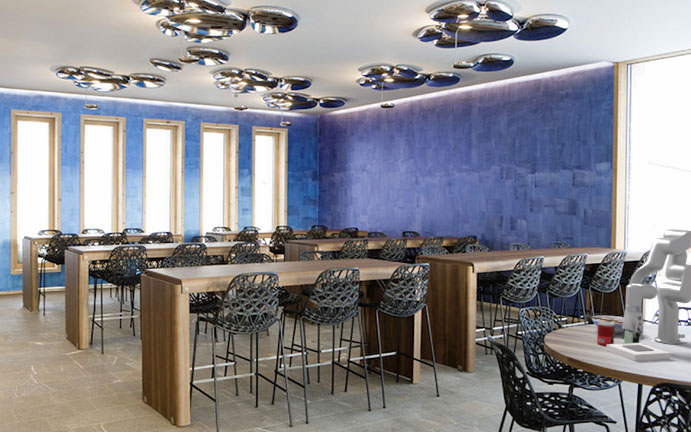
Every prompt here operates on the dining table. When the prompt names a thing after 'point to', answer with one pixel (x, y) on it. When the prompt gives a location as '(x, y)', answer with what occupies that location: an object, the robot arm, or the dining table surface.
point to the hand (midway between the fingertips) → (631, 343)
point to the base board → (637, 351)
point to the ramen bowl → (610, 319)
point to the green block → (629, 337)
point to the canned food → (605, 333)
